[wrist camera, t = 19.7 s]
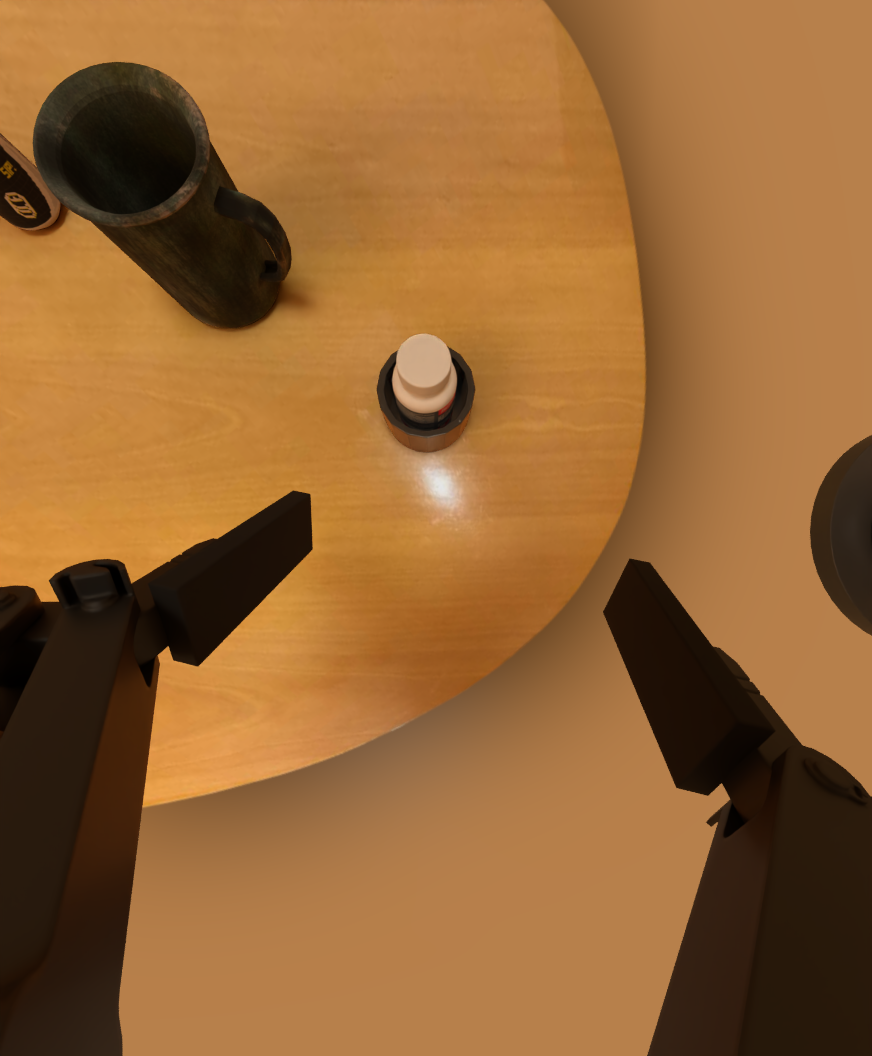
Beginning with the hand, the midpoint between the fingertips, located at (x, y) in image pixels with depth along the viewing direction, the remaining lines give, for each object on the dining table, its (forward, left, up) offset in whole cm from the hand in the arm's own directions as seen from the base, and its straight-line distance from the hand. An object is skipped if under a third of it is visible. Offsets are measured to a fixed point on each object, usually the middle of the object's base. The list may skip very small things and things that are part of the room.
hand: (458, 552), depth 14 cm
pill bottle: (+4, -13, -19) cm, 23 cm away
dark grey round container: (+4, -13, -19) cm, 23 cm away
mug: (+24, -22, -19) cm, 38 cm away
